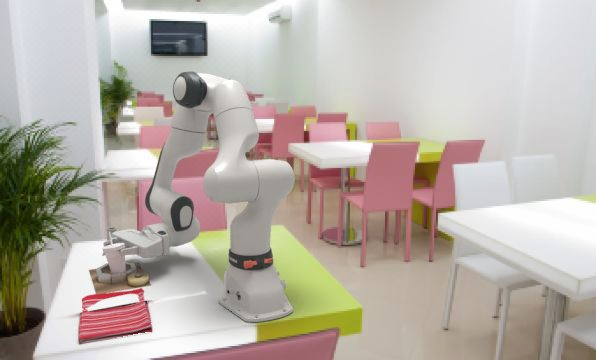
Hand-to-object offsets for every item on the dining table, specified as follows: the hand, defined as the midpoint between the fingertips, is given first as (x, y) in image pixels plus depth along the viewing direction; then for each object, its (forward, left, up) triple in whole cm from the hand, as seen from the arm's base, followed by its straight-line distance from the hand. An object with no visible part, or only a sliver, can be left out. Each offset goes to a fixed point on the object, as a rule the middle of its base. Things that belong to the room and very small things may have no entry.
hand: (112, 248), depth 151 cm
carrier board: (-1, -1, -10) cm, 10 cm away
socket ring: (0, -1, -9) cm, 9 cm away
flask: (+22, -3, -10) cm, 25 cm away
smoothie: (-1, -2, -9) cm, 9 cm away
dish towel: (-24, +3, -11) cm, 26 cm away
